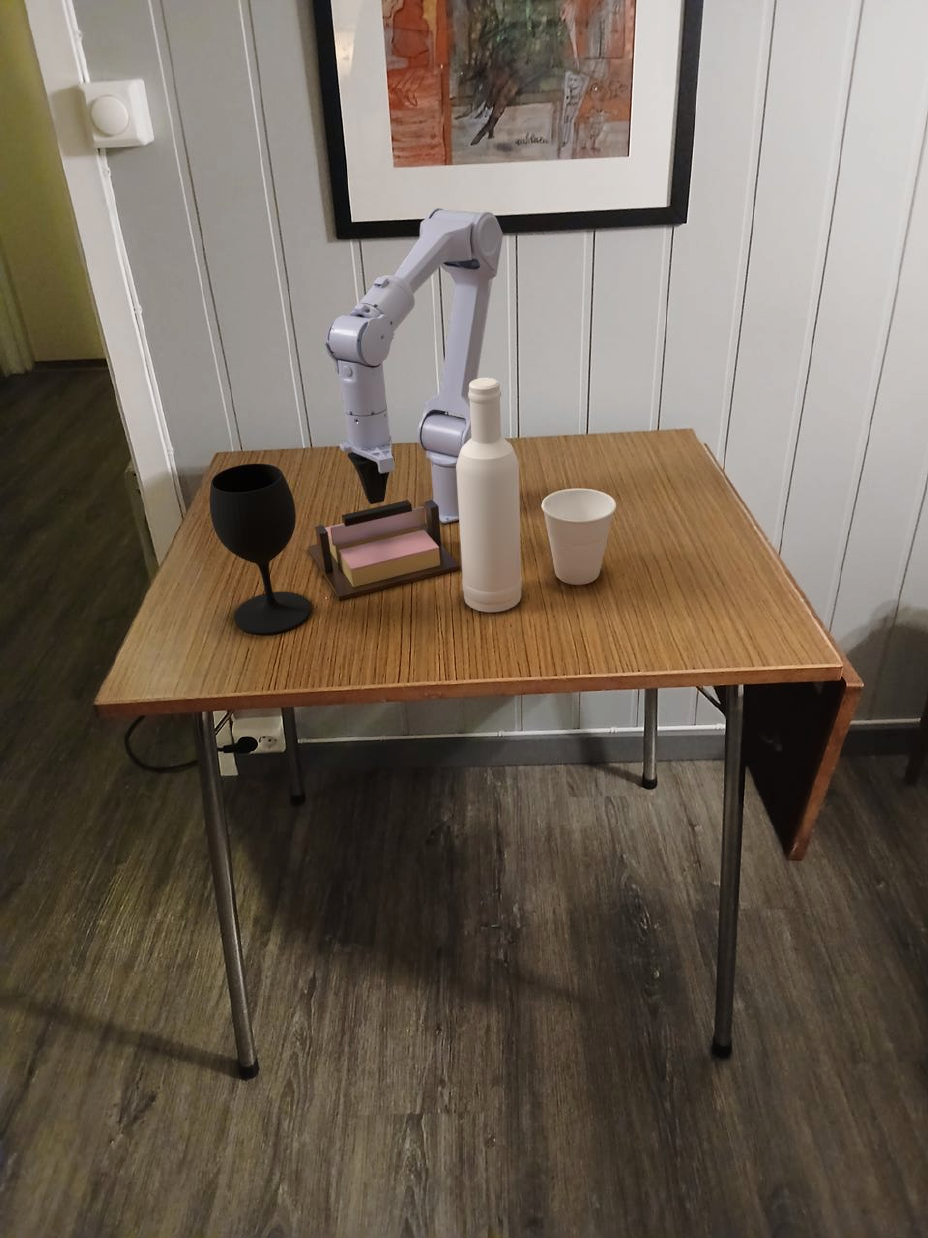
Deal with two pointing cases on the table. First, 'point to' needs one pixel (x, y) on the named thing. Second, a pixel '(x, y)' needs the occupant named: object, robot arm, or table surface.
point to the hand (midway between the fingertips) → (376, 501)
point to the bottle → (489, 506)
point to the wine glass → (258, 540)
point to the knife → (377, 522)
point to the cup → (578, 532)
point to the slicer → (346, 590)
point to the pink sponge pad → (385, 555)
